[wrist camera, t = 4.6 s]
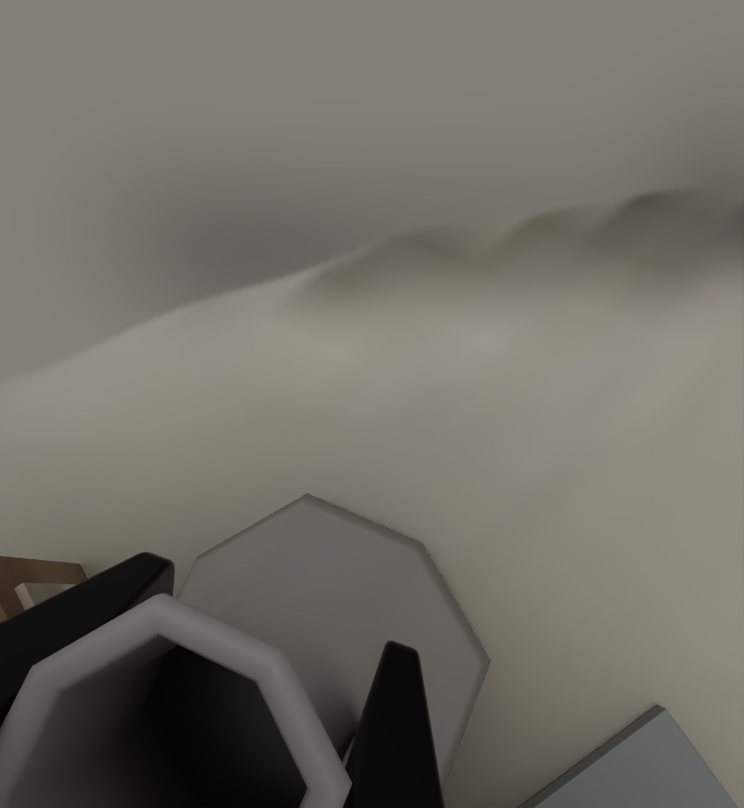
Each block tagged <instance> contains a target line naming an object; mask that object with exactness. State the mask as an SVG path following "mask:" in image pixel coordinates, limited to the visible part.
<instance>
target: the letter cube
mask: <svg viewBox="0 0 744 808" xmlns="http://www.w3.org/2000/svg"><path fill="white" fill-rule="evenodd" d="M85 580H87V577H86V575H85V573H84V571H83V569H82V567H81V566H80V564H75V563H64V562H54V561H44V560H34V559H23V558H13V557H3V556H0V622H2V621H4V620H6V619H8V618H10V617H12V616H14V615H16V614H18V613H20V612H22V611H24V610H26V609H28V608H30V607H32V606H34V605H36V604H38V603H40V602H42V601H44V600H46V599H48V598H50V597H52V596H55V595H57V594H59V593H61V592H63V591H65V590H67V589H69V588H71V587H73V586H75V585H77V584H79V583H81V582H83V581H85Z"/></svg>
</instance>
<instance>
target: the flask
mask: <svg viewBox="0 0 744 808" xmlns="http://www.w3.org/2000/svg"><path fill="white" fill-rule="evenodd" d="M390 640H392V641H395V642H398V643H401V644H404V645H406V646H409V647H412V648H414V649H416V650H417V651H418V654H419V656H420V662H421V668H422V674H423V680H424V686H425V692H426V698H427V704H428V710H429V716H430V722H431V728H432V734H433V740H434V746H435V752H436V758H437V764H438V770H439V776H440V782H441V788H442V789H443V786H444V784H445V781H446V778H447V776H448V773H449V770H450V768H451V765H452V762H453V760H454V757H455V754H456V752H457V749H458V746H459V744H460V741H461V738H462V736H463V733H464V730H465V728H466V725H467V722H468V720H469V717H470V714H471V712H472V709H473V706H474V704H475V701H476V698H477V696H478V693H479V690H480V688H481V685H482V682H483V680H484V677H485V674H486V672H487V669H488V666H489V664H490V659H489V657H488V655H487V654H486V652H485V650H484V648H483V647H482V645H481V643H480V642H479V640H478V638H477V636H476V635H475V633H474V631H473V630H472V628H471V626H470V624H469V623H468V621H467V619H466V617H465V616H464V614H463V612H462V611H461V609H460V607H459V605H458V604H457V602H456V600H455V598H454V597H453V595H452V593H451V592H450V590H449V588H448V586H447V585H446V583H445V581H444V580H443V578H442V576H441V574H440V573H439V571H438V569H437V567H436V566H435V564H434V562H433V561H432V559H431V557H430V555H429V554H428V552H427V550H426V549H425V547H424V545H423V543H421V542H419V541H416V540H414V539H412V538H409V537H407V536H405V535H402V534H400V533H398V532H395V531H393V530H391V529H388V528H386V527H384V526H382V525H379V524H377V523H375V522H372V521H370V520H368V519H365V518H363V517H361V516H358V515H356V514H354V513H352V512H349V511H347V510H345V509H342V508H340V507H338V506H335V505H333V504H331V503H328V502H326V501H324V500H321V499H319V498H317V497H315V496H312V495H310V494H308V493H307V494H306V495H304V496H302V497H300V498H299V499H297V500H295V501H293V502H292V503H290V504H288V505H286V506H285V507H283V508H281V509H279V510H278V511H276V512H274V513H272V514H271V515H269V516H267V517H266V518H264V519H262V520H260V521H259V522H257V523H255V524H253V525H252V526H250V527H248V528H246V529H245V530H243V531H241V532H239V533H238V534H236V535H234V536H233V537H231V538H229V539H227V540H226V541H224V542H222V543H220V544H219V545H217V546H215V547H213V548H212V549H210V550H208V551H206V552H205V553H203V554H201V555H199V556H198V557H197V559H196V561H195V563H194V565H193V568H192V570H191V572H190V574H189V576H188V578H187V580H186V582H185V584H184V586H183V589H182V591H181V593H180V595H179V597H178V599H176V598H174V597H172V596H170V595H167V594H165V593H162V594H157V595H155V596H153V597H151V598H149V599H148V600H146V601H144V602H143V603H141V604H139V605H137V606H136V607H134V608H132V609H130V610H129V611H127V612H125V613H123V614H122V615H120V616H118V617H117V618H115V619H113V620H111V621H110V622H108V623H106V624H104V625H103V626H101V627H99V628H97V629H96V630H94V631H92V632H91V633H89V634H87V635H85V636H84V637H82V638H80V639H78V640H77V641H75V642H73V643H71V644H70V645H68V646H66V647H65V648H63V649H61V650H59V651H58V652H56V653H54V654H52V655H51V656H49V657H47V658H45V659H44V660H42V661H40V662H39V663H37V664H35V665H33V666H32V667H31V669H30V671H29V673H28V675H27V677H26V679H25V681H24V683H23V685H22V687H21V689H20V691H19V693H18V695H17V697H16V699H15V701H14V703H13V705H12V706H11V708H10V710H9V712H8V714H7V716H6V718H5V720H4V722H3V724H2V726H1V728H0V808H343V805H344V803H345V800H346V798H347V795H348V793H349V790H350V788H351V785H352V782H351V780H350V778H349V776H348V774H347V772H346V770H345V767H346V764H347V760H348V757H349V754H350V751H351V747H352V744H353V741H354V738H355V734H356V731H357V728H358V725H359V721H360V718H361V715H362V712H363V708H364V705H365V702H366V699H367V697H368V694H369V691H370V688H371V685H372V682H373V679H374V676H375V673H376V670H377V667H378V664H379V661H380V658H381V655H382V652H383V649H384V646H385V644H386V642H387V641H390Z"/></svg>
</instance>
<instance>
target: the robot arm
mask: <svg viewBox="0 0 744 808" xmlns="http://www.w3.org/2000/svg"><path fill="white" fill-rule="evenodd" d="M174 572H175V568H174V564H173V562H172V561H171V560H169V559H166V558H164V557H161V556H158V555H155V554H153V553H149V552H143V553H139V554H137V555H135V556H133V557H131V558H129V559H127V560H125V561H123V562H121V563H119V564H117V565H115V566H113V567H111V568H109V569H107V570H105V571H103V572H101V573H99V574H97V575H95V576H93V577H91V578H89V579H87V580H85V581H83V582H81V583H79V584H77V585H75V586H73V587H71V588H69V589H67V590H65V591H63V592H61V593H59V594H57V595H55V596H52V597H50V598H48V599H46V600H44V601H42V602H40V603H38V604H36V605H34V606H32V607H30V608H28V609H26V610H24V611H22V612H20V613H18V614H16V615H14V616H12V617H10V618H8V619H6V620H4V621H2V622H0V728H1V726H2V724H3V722H4V720H5V718H6V716H7V714H8V712H9V710H10V708H11V706H12V705H13V703H14V701H15V699H16V697H17V695H18V693H19V691H20V689H21V687H22V685H23V683H24V681H25V679H26V677H27V675H28V673H29V671H30V669H31V667H32V666H33V665H35V664H37V663H39V662H40V661H42V660H44V659H45V658H47V657H49V656H51V655H52V654H54V653H56V652H58V651H59V650H61V649H63V648H65V647H66V646H68V645H70V644H71V643H73V642H75V641H77V640H78V639H80V638H82V637H84V636H85V635H87V634H89V633H91V632H92V631H94V630H96V629H97V628H99V627H101V626H103V625H104V624H106V623H108V622H110V621H111V620H113V619H115V618H117V617H118V616H120V615H122V614H123V613H125V612H127V611H129V610H130V609H132V608H134V607H136V606H137V605H139V604H141V603H143V602H144V601H146V600H148V599H149V598H151V597H153V596H155V595H157V594H162V593H165V594H167V595H170V596H173V584H174ZM345 770H346V772H347V774H348V776H349V778H350V780H351V782H352V785H351V788H350V790H349V793H348V795H347V798H346V800H345V803H344V805H343V808H445V806H444V800H443V794H442V788H441V782H440V776H439V770H438V764H437V758H436V752H435V746H434V740H433V734H432V728H431V722H430V716H429V710H428V704H427V698H426V692H425V686H424V680H423V674H422V668H421V662H420V656H419V654H418V651H417V650H416V649H414V648H412V647H409V646H406V645H404V644H401V643H398V642H395V641H392V640H390V641H387V642H386V644H385V646H384V649H383V652H382V655H381V658H380V661H379V664H378V667H377V670H376V673H375V676H374V679H373V682H372V685H371V688H370V691H369V694H368V697H367V699H366V702H365V705H364V708H363V712H362V715H361V718H360V721H359V725H358V728H357V731H356V734H355V738H354V741H353V744H352V747H351V751H350V754H349V757H348V760H347V764H346V767H345Z"/></svg>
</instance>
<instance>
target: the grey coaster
mask: <svg viewBox="0 0 744 808" xmlns="http://www.w3.org/2000/svg"><path fill="white" fill-rule="evenodd" d="M519 808H737V806H736V805H735V803H734V802H733V801H732V799H731V798H730V797H729V795H728V794H727V792H726V791H725V790H724V788H723V787H722V785H721V784H720V783H719V781H718V780H717V779H716V777H715V776H714V774H713V773H712V772H711V770H710V769H709V767H708V766H707V765H706V763H705V762H704V761H703V759H702V758H701V756H700V755H699V754H698V752H697V751H696V750H695V748H694V747H693V745H692V744H691V743H690V741H689V740H688V738H687V737H686V736H685V734H684V733H683V732H682V730H681V729H680V727H679V726H678V725H677V723H676V722H675V720H674V719H673V718H672V716H671V715H670V714H669V712H668V711H667V709H665V708H663V707H660V706H658V705H656V706H655V707H654V708H652V709H651V710H650V711H648V712H647V713H646V714H644V715H643V716H642V717H640V718H639V719H637V720H636V721H635V722H633V723H632V724H631V725H629V726H628V727H627V728H625V729H624V730H623V731H621V732H620V733H619V734H617V735H616V736H615V737H613V738H612V739H611V740H609V741H608V742H607V743H605V744H604V745H603V746H601V747H600V748H599V749H597V750H596V751H594V752H593V753H592V754H590V755H589V756H588V757H586V758H585V759H584V760H582V761H581V762H580V763H578V764H577V765H576V766H574V767H573V768H572V769H570V770H569V771H568V772H566V773H565V774H564V775H562V776H561V777H560V778H558V779H557V780H556V781H554V782H553V783H551V784H550V785H549V786H547V787H546V788H545V789H543V790H542V791H541V792H539V793H538V794H537V795H535V796H534V797H533V798H531V799H530V800H529V801H527V802H526V803H525V804H523V805H522V806H521V807H519Z"/></svg>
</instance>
